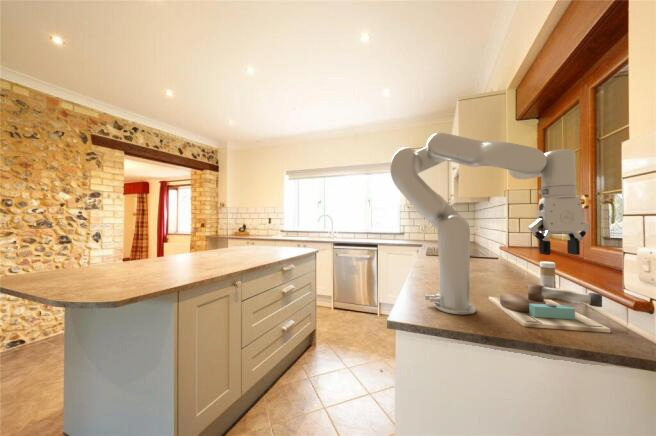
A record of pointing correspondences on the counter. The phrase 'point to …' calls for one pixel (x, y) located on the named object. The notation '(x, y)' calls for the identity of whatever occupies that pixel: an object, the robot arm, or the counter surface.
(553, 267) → the sprinkles bottle
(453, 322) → the counter surface
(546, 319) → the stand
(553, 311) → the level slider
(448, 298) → the robot arm
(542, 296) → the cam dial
